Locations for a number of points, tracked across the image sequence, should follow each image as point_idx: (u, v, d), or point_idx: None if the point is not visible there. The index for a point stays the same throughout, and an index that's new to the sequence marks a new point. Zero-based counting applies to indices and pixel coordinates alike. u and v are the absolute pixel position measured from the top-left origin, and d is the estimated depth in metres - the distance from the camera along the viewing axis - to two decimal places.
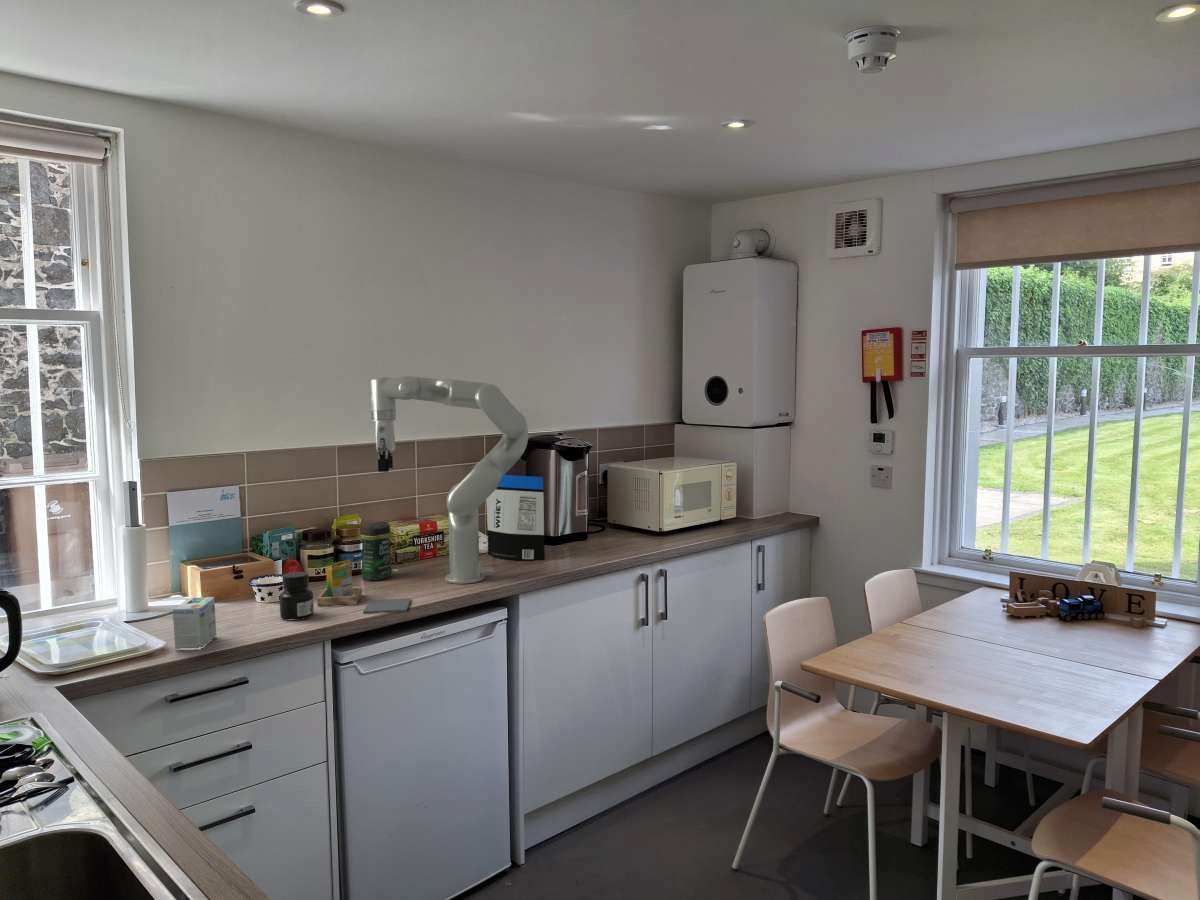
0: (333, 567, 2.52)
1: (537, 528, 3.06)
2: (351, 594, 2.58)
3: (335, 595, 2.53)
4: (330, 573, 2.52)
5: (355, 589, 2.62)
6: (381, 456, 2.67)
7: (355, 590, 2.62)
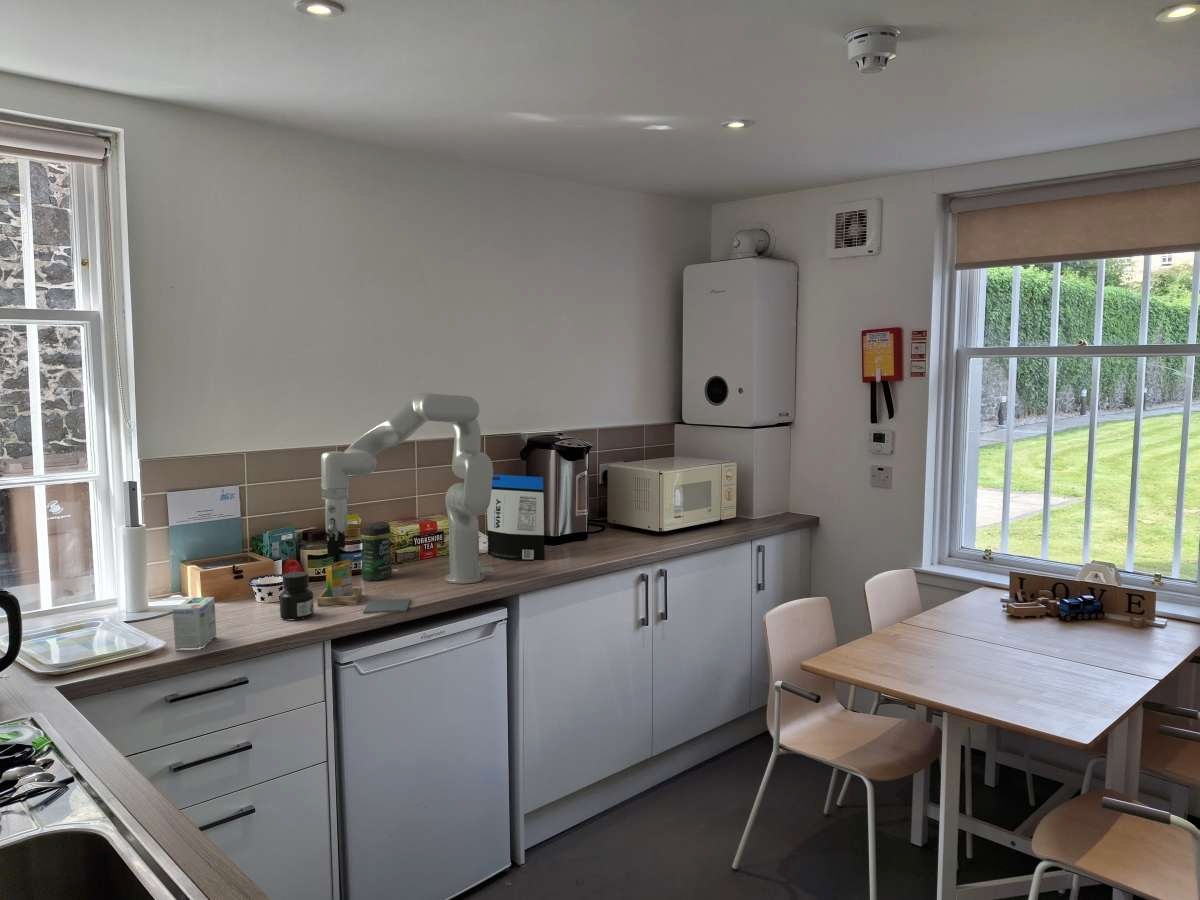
0: (333, 567, 2.52)
1: (537, 528, 3.06)
2: (351, 594, 2.58)
3: (335, 595, 2.53)
4: (330, 573, 2.52)
5: (355, 589, 2.62)
6: (330, 538, 2.48)
7: (355, 590, 2.62)
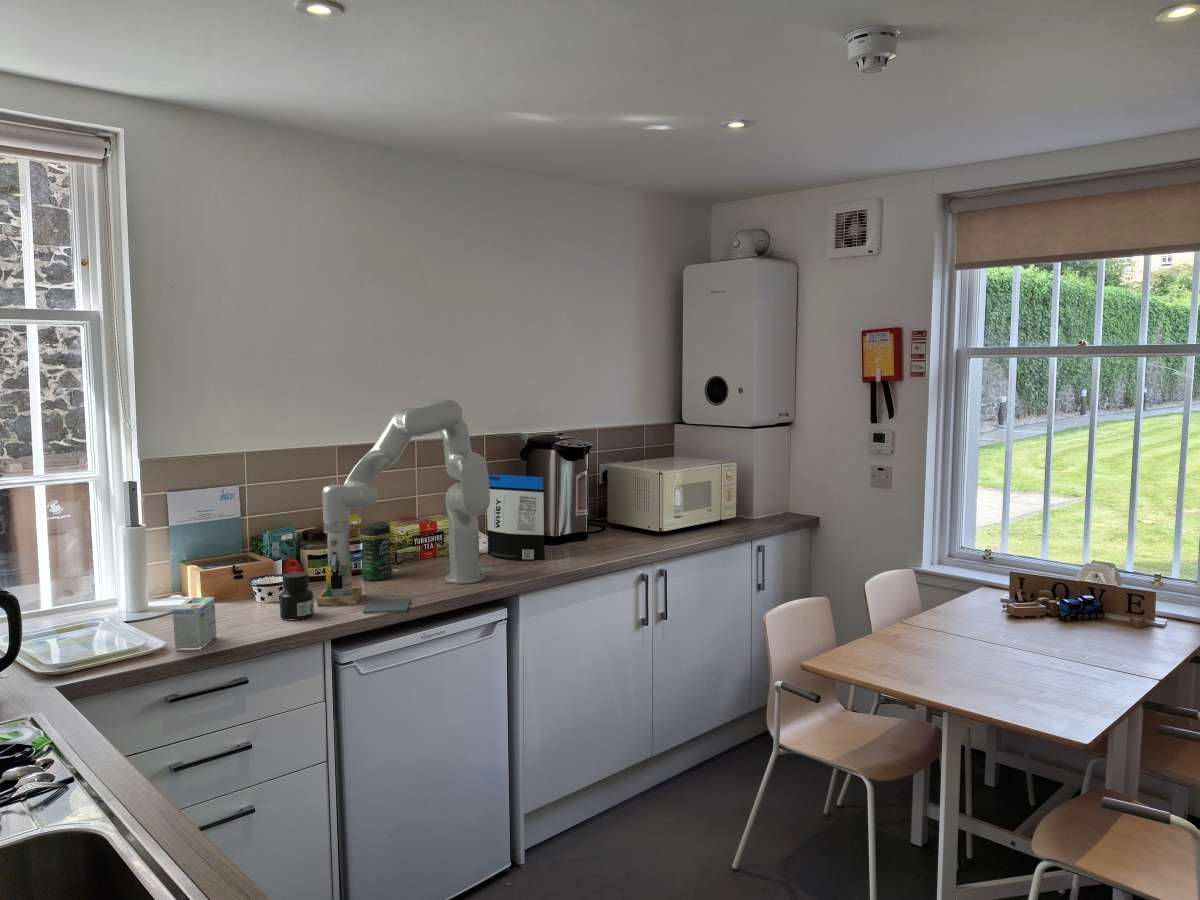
0: None
1: (537, 528, 3.06)
2: (351, 594, 2.58)
3: (335, 595, 2.53)
4: (330, 573, 2.52)
5: (355, 589, 2.62)
6: (334, 573, 2.50)
7: (355, 590, 2.62)
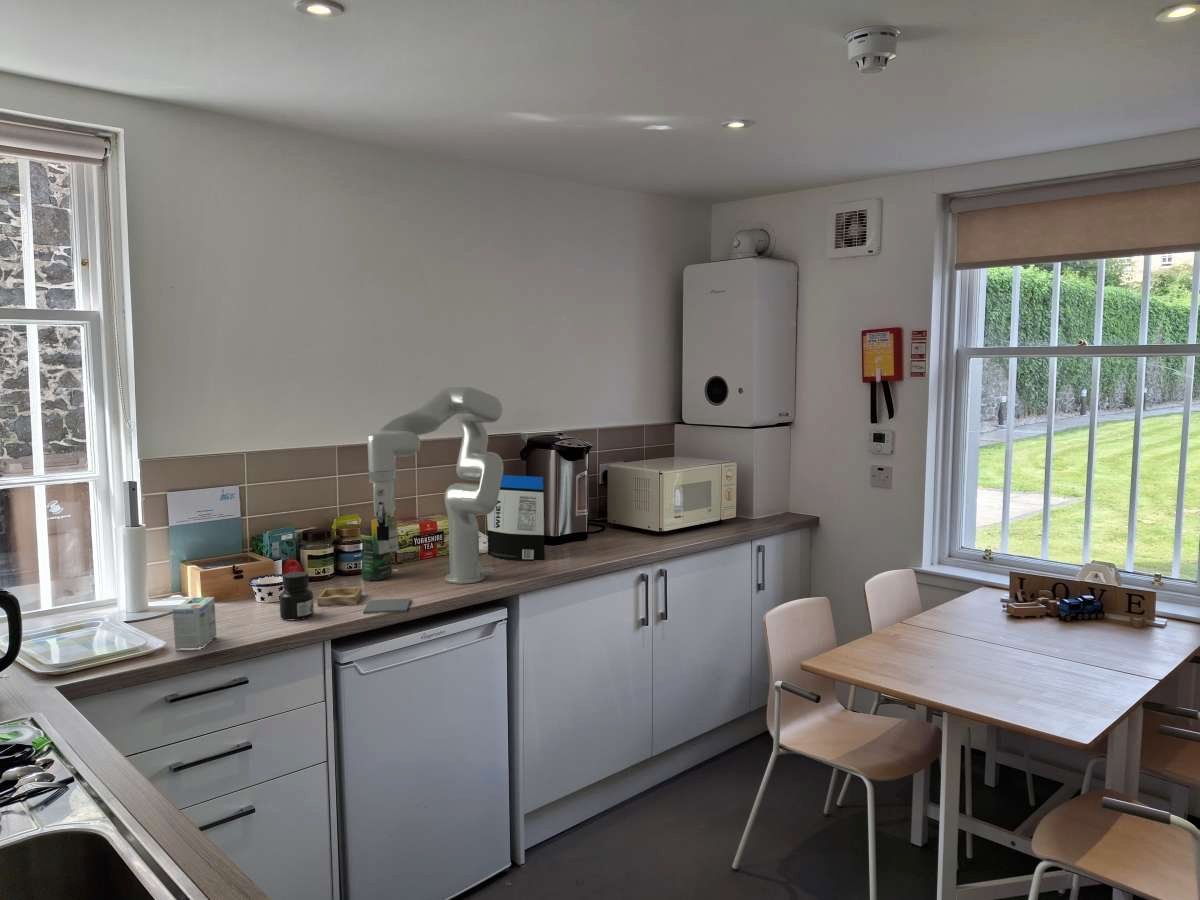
0: None
1: (537, 528, 3.06)
2: (397, 547, 2.50)
3: (381, 547, 2.45)
4: (376, 524, 2.44)
5: (355, 589, 2.62)
6: (380, 524, 2.42)
7: (355, 590, 2.62)
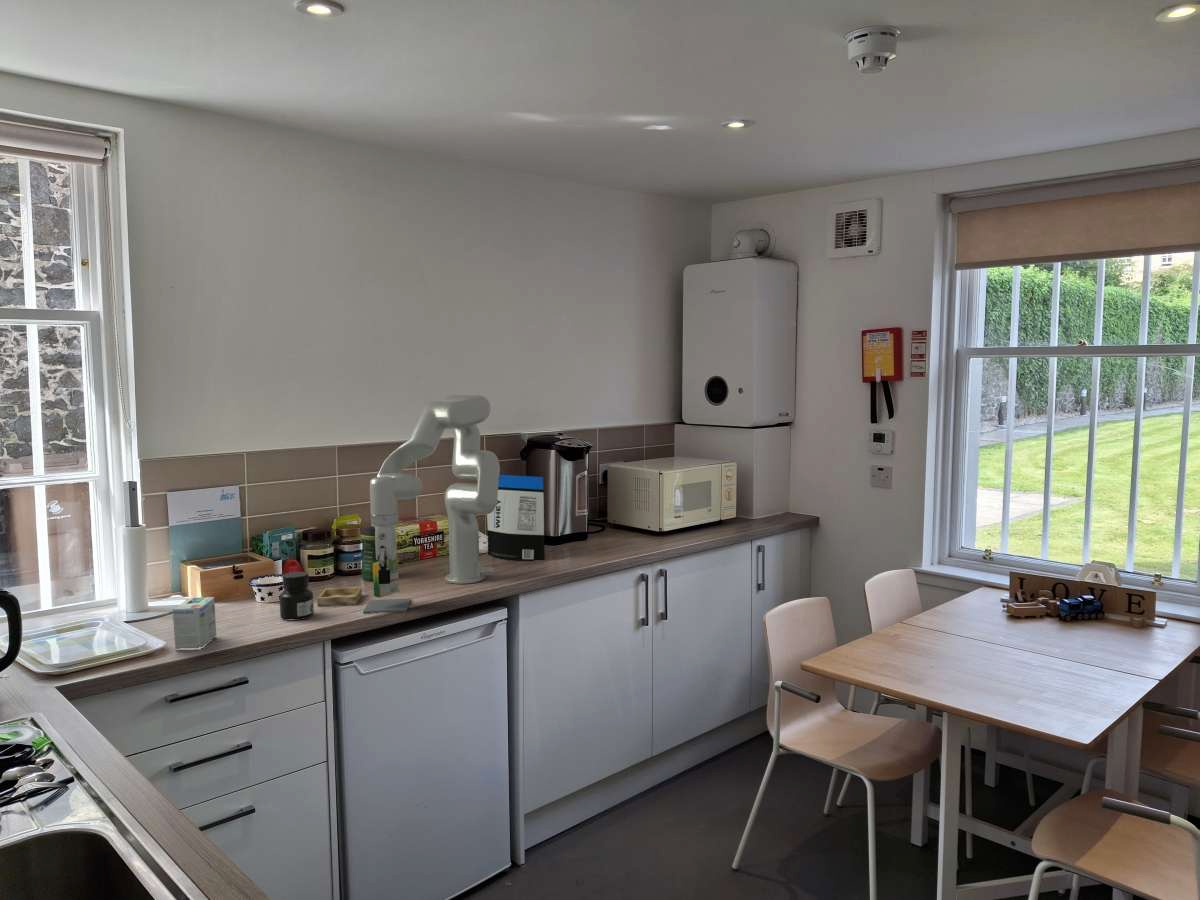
0: None
1: (537, 528, 3.06)
2: (398, 589, 2.51)
3: (382, 590, 2.46)
4: (377, 567, 2.45)
5: (355, 589, 2.62)
6: (382, 568, 2.43)
7: (355, 590, 2.62)
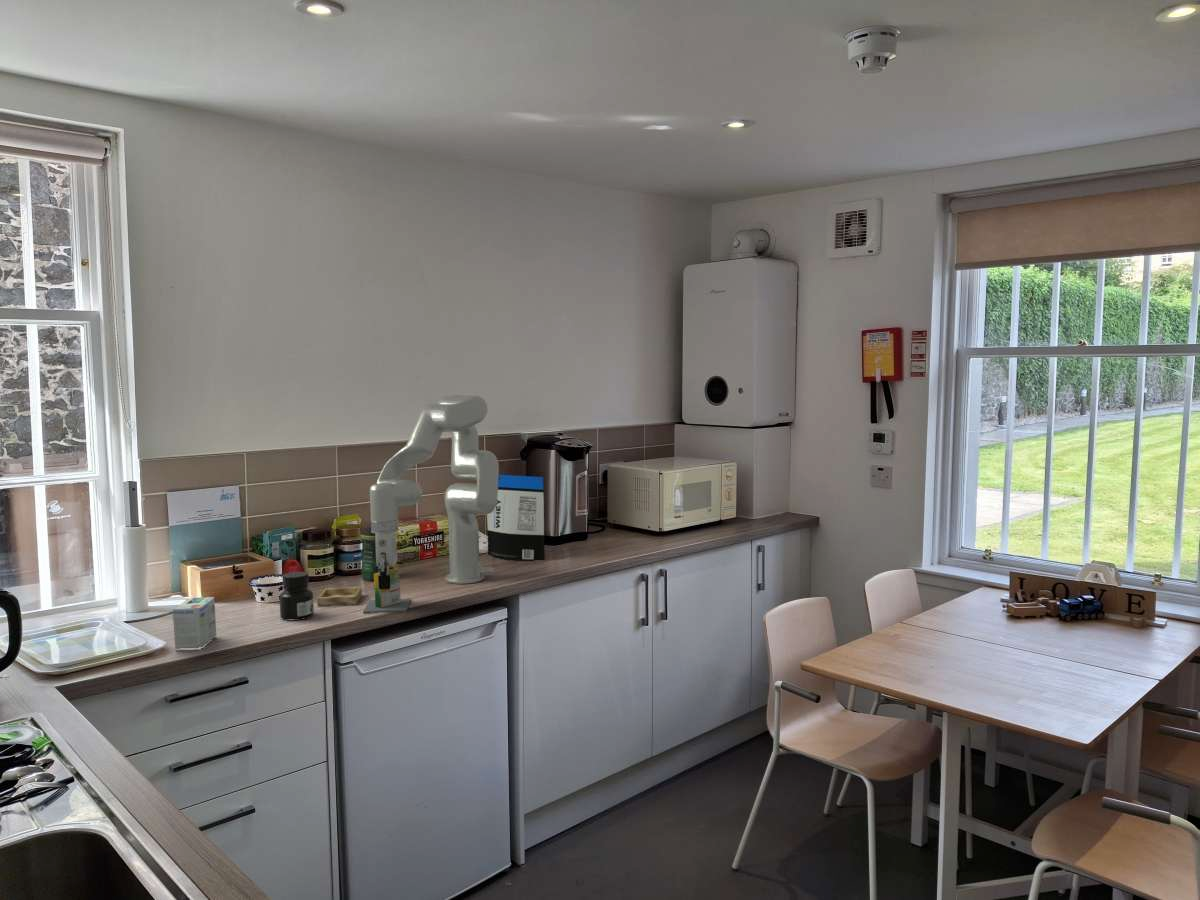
0: None
1: (537, 528, 3.06)
2: (399, 600, 2.51)
3: (383, 601, 2.47)
4: None
5: (355, 589, 2.62)
6: (382, 573, 2.42)
7: (355, 590, 2.62)
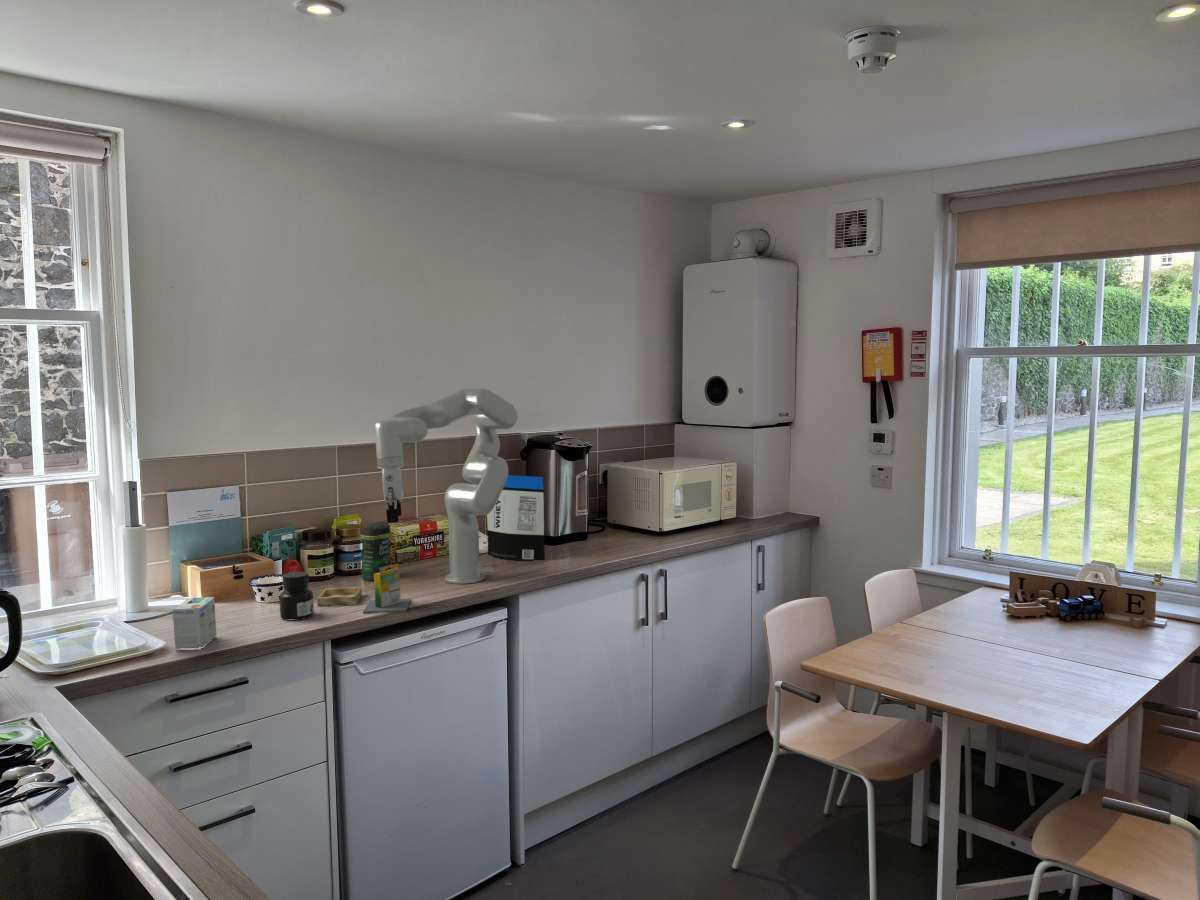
0: (381, 572, 2.46)
1: (537, 528, 3.06)
2: (399, 600, 2.51)
3: (383, 601, 2.47)
4: (378, 578, 2.46)
5: (355, 589, 2.62)
6: (390, 507, 2.48)
7: (355, 590, 2.62)
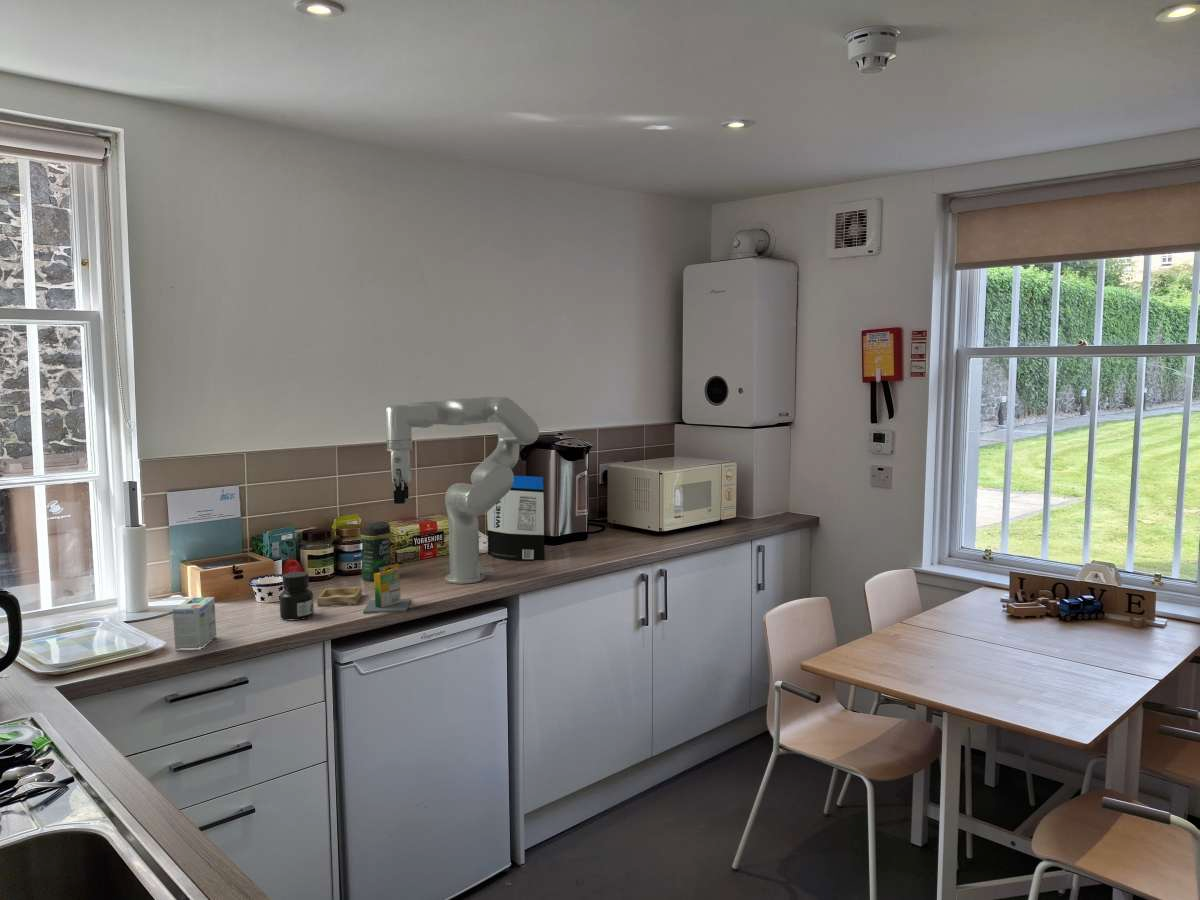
0: (381, 572, 2.46)
1: (537, 528, 3.06)
2: (399, 600, 2.51)
3: (383, 601, 2.47)
4: (378, 578, 2.46)
5: (355, 589, 2.62)
6: (397, 488, 2.57)
7: (355, 590, 2.62)
